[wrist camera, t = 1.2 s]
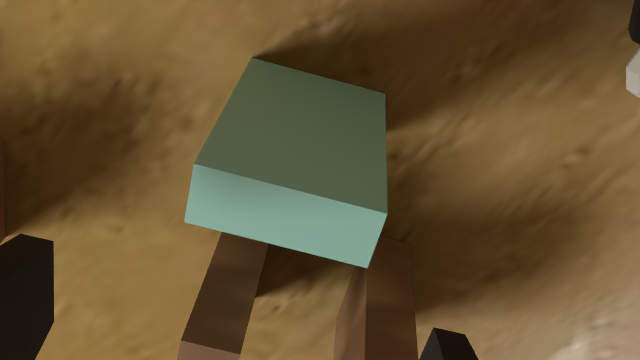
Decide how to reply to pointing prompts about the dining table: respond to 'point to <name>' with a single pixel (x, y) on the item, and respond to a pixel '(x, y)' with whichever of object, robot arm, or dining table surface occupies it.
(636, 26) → the robot toy
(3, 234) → the walnut domino
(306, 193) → the teal domino
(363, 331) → the walnut domino
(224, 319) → the walnut domino
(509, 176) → the dining table surface
